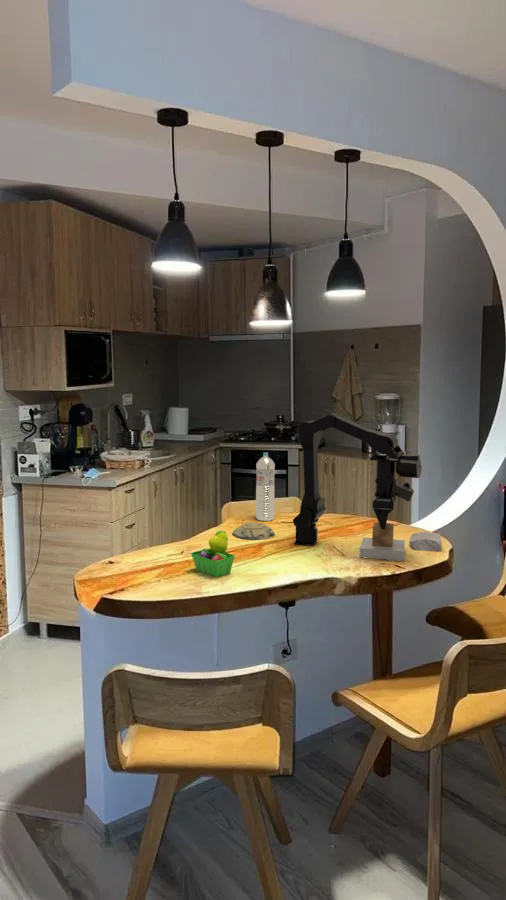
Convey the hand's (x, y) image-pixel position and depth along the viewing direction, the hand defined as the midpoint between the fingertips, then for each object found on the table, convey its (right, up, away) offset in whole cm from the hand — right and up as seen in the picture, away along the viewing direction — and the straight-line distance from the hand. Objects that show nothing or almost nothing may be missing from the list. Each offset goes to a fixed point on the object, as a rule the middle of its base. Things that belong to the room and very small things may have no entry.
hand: (384, 525), depth 212 cm
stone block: (+15, -8, +10) cm, 20 cm away
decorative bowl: (-40, -6, +23) cm, 47 cm away
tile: (0, -9, +1) cm, 9 cm away
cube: (0, -6, +1) cm, 6 cm away
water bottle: (-36, -3, +45) cm, 57 cm away
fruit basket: (-51, -11, -17) cm, 55 cm away
